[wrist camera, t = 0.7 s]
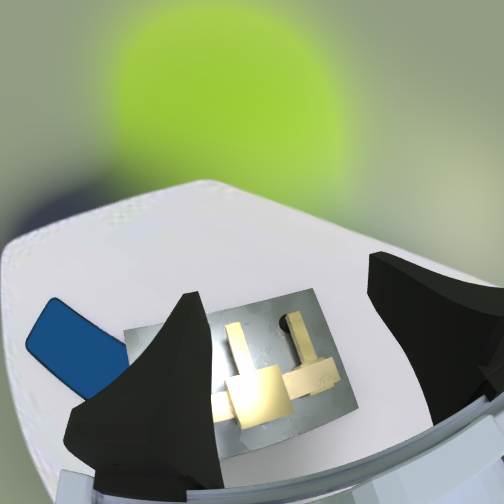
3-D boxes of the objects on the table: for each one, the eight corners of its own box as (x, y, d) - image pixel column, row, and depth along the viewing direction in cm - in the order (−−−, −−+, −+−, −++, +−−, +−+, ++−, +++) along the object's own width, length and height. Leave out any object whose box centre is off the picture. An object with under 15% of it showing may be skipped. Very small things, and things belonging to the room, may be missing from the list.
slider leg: (277, 411, 23) (294, 412, 18) (235, 424, 21) (242, 429, 17) (249, 328, 26) (259, 309, 22) (208, 338, 25) (209, 321, 21)
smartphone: (53, 293, 25) (162, 365, 24) (56, 297, 26) (164, 366, 24) (22, 346, 21) (128, 430, 20) (26, 348, 22) (131, 429, 21)
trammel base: (355, 408, 24) (370, 406, 22) (160, 468, 19) (154, 476, 16) (310, 290, 31) (320, 278, 28) (125, 332, 25) (116, 323, 22)
